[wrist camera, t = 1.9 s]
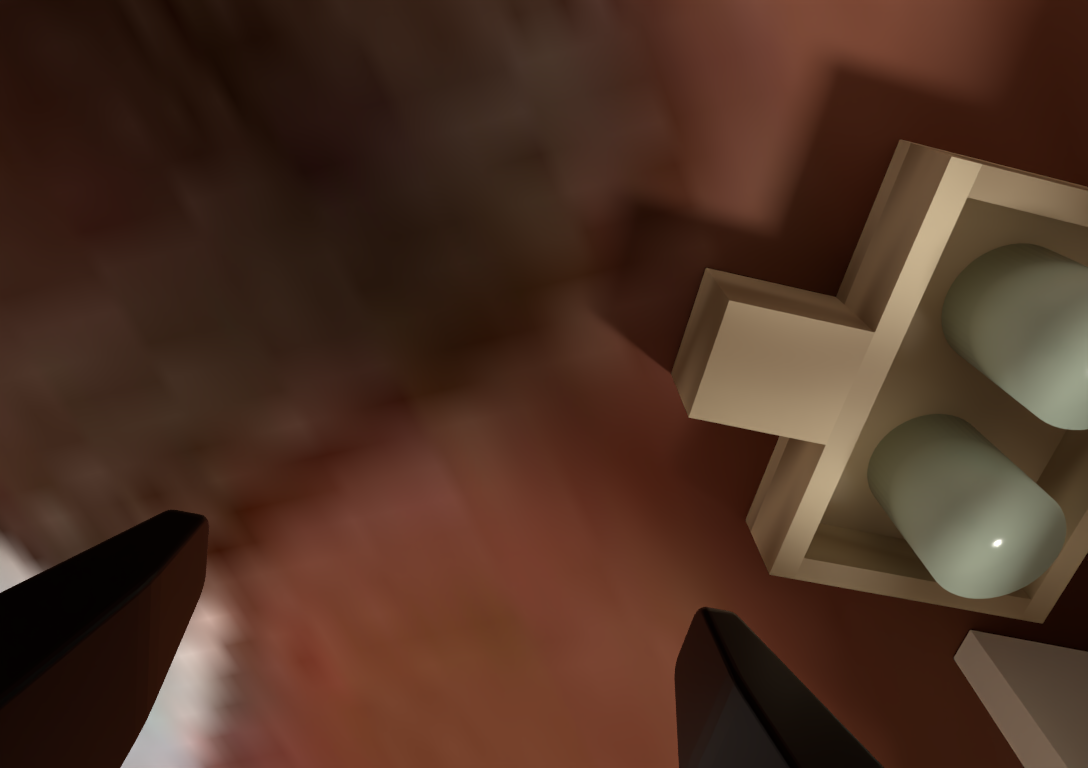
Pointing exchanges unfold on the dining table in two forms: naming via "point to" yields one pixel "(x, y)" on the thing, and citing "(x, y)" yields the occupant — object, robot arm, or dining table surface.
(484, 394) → the dining table surface
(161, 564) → the robot arm
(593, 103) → the dining table surface
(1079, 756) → the cream flanged slab
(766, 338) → the beige flat piece
